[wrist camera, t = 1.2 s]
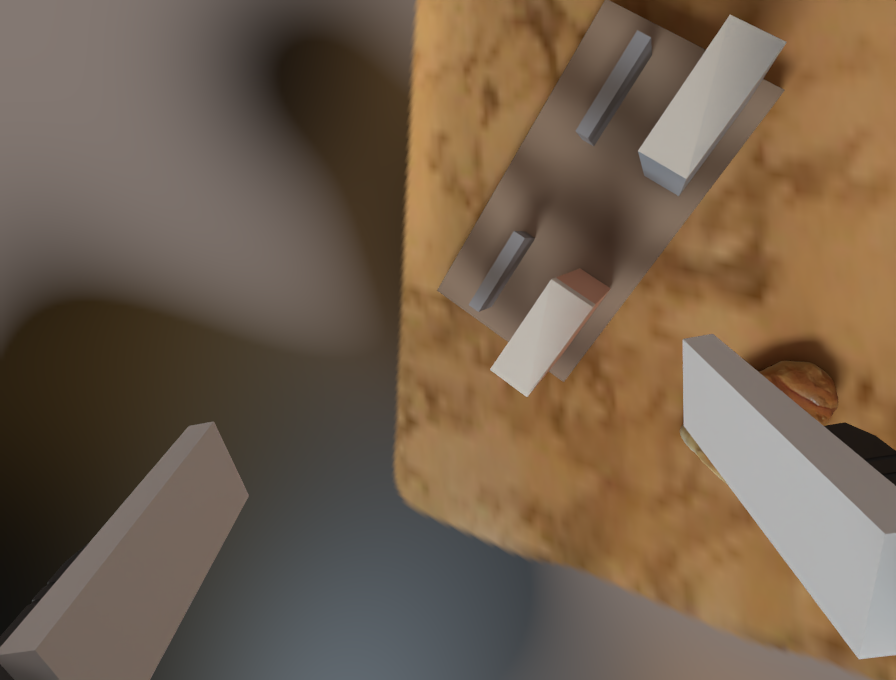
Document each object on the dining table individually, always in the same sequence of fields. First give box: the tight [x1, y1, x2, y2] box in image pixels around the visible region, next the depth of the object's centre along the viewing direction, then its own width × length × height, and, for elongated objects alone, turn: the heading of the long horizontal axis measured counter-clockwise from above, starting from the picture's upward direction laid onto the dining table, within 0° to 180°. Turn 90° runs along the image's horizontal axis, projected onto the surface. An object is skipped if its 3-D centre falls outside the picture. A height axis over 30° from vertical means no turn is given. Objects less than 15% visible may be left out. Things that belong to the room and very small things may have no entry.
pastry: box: [680, 361, 838, 483], centre depth 32 cm, size 9×7×4 cm
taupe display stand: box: [437, 0, 784, 382], centre depth 33 cm, size 22×12×5 cm, turn 148°
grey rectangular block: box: [638, 15, 787, 196], centre depth 26 cm, size 6×2×10 cm, turn 148°
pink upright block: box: [490, 268, 611, 397], centre depth 30 cm, size 6×2×10 cm, turn 148°
